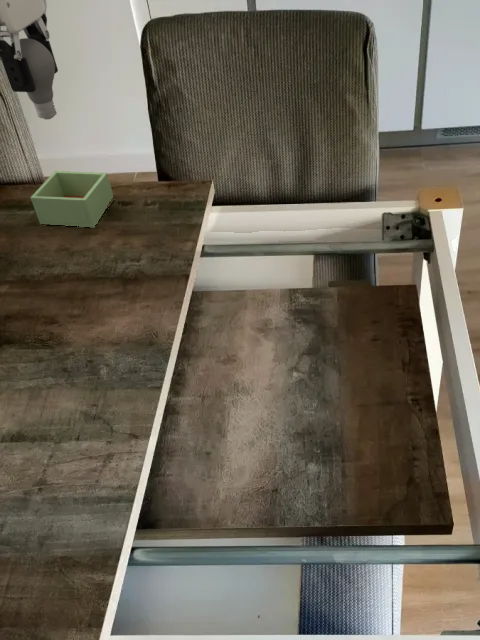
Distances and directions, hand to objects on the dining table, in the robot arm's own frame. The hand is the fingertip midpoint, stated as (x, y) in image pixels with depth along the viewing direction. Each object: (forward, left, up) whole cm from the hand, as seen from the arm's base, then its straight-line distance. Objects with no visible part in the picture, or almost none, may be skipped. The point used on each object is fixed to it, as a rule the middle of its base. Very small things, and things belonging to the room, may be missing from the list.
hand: (35, 80), depth 89 cm
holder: (0, +1, -20) cm, 20 cm away
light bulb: (0, 0, -5) cm, 5 cm away
